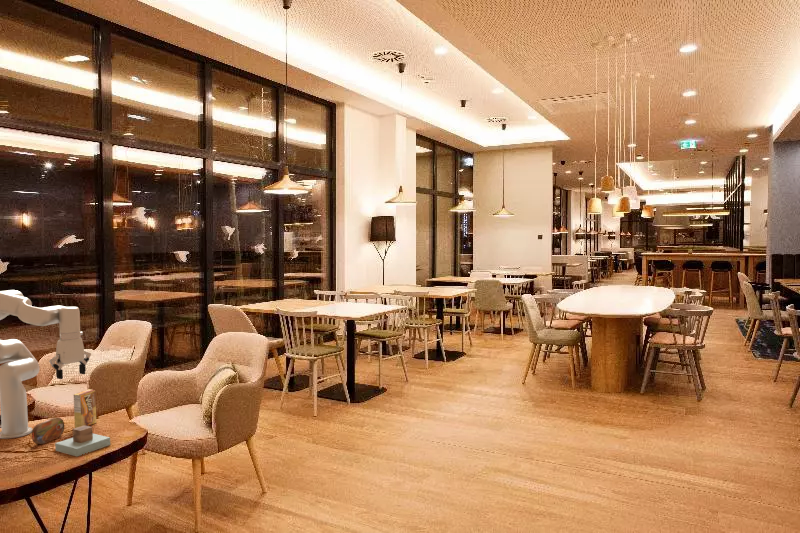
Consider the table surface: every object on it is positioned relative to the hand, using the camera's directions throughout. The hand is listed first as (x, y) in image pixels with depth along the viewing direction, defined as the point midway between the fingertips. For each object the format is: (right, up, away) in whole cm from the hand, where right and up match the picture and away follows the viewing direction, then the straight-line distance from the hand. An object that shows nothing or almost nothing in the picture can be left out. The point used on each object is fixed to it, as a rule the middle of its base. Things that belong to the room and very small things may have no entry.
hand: (71, 376), depth 245 cm
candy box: (-2, -25, +16) cm, 30 cm away
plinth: (+12, -26, -13) cm, 31 cm away
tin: (-8, -26, -3) cm, 28 cm away
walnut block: (+12, -23, -13) cm, 29 cm away
